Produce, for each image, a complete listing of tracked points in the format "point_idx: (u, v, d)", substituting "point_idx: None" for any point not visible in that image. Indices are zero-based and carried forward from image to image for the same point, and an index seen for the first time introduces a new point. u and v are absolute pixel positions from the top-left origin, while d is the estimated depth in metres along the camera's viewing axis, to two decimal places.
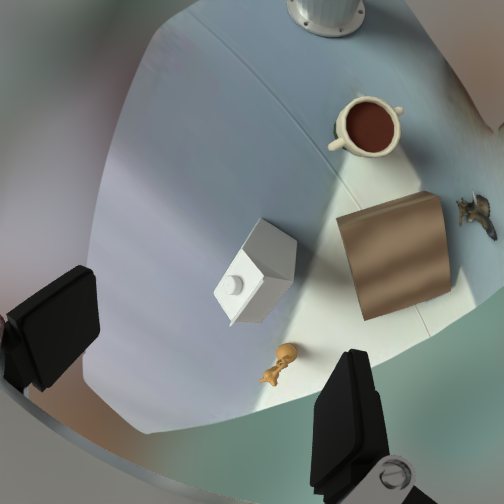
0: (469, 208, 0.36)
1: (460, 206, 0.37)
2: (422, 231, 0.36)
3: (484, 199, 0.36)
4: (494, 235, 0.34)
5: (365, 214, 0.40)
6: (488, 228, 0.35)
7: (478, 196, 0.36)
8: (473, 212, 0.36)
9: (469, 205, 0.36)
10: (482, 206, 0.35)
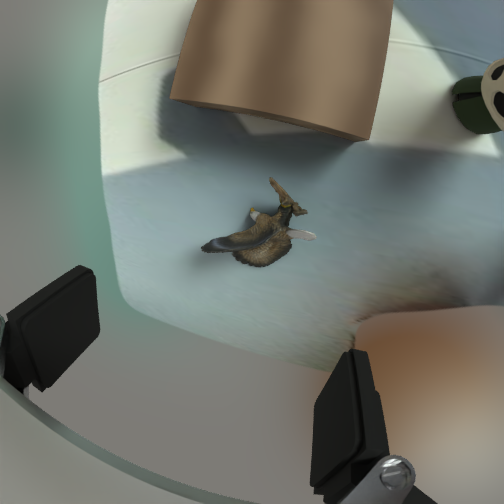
0: (285, 216, 0.25)
1: (293, 202, 0.25)
2: (325, 75, 0.18)
3: (274, 258, 0.28)
4: (214, 248, 0.25)
5: None
6: (230, 241, 0.26)
7: (288, 248, 0.27)
8: (275, 221, 0.25)
9: (285, 221, 0.26)
10: (269, 247, 0.27)
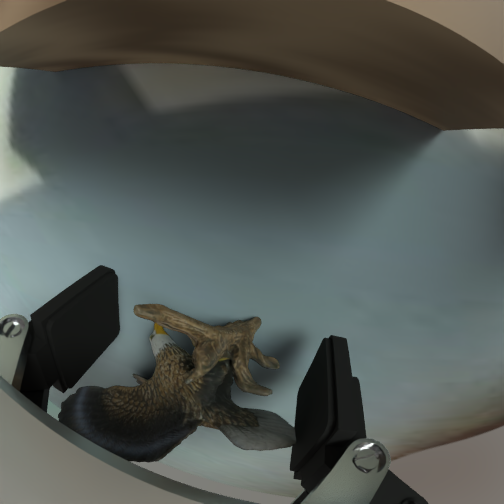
0: (214, 385, 0.08)
1: (240, 339, 0.09)
2: None
3: None
4: (70, 426, 0.08)
5: None
6: (102, 411, 0.09)
7: None
8: (189, 392, 0.08)
9: None
10: None
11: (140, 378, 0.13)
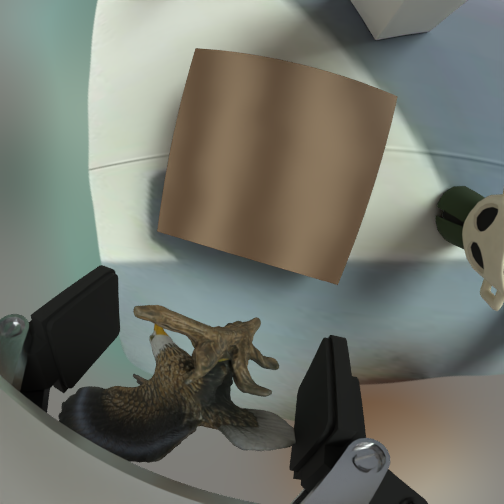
0: (213, 386, 0.08)
1: (240, 339, 0.09)
2: (303, 225, 0.22)
3: None
4: (70, 427, 0.08)
5: None
6: (102, 411, 0.09)
7: None
8: (189, 392, 0.08)
9: None
10: None
11: (140, 378, 0.13)
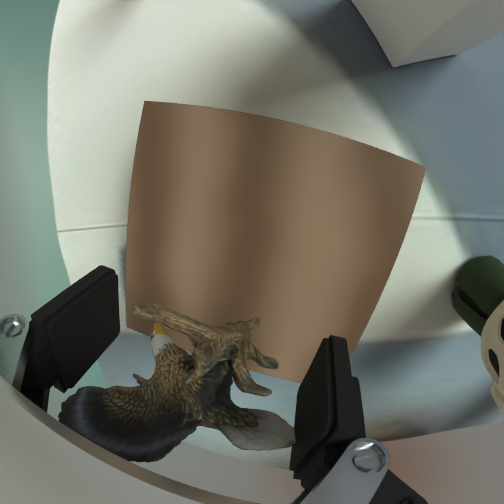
0: (213, 385, 0.08)
1: (239, 339, 0.09)
2: (292, 335, 0.17)
3: None
4: (70, 426, 0.08)
5: None
6: (102, 411, 0.09)
7: None
8: (189, 392, 0.08)
9: None
10: None
11: (140, 378, 0.13)
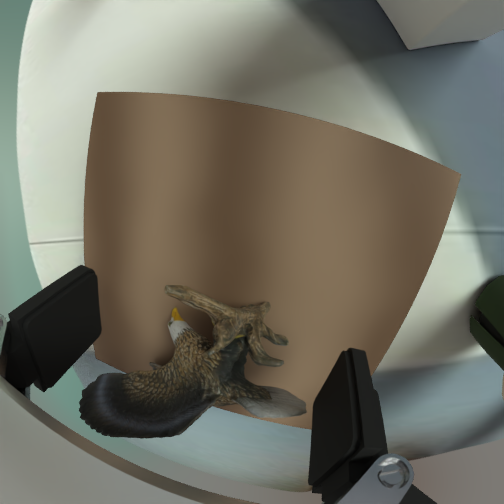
0: (230, 361, 0.09)
1: (253, 319, 0.10)
2: (284, 380, 0.14)
3: None
4: (92, 410, 0.09)
5: None
6: (123, 395, 0.10)
7: None
8: (208, 369, 0.10)
9: None
10: None
11: (157, 365, 0.14)
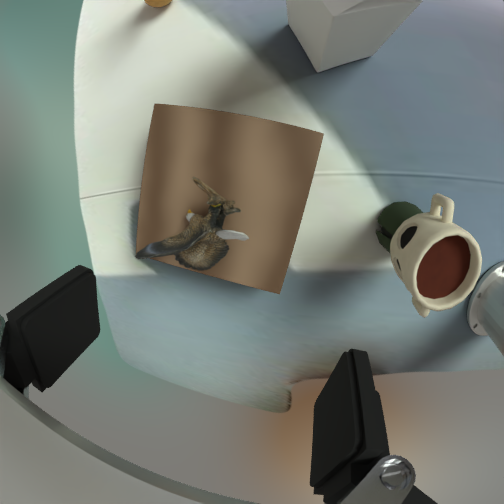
0: (215, 216, 0.23)
1: (225, 200, 0.24)
2: (247, 247, 0.27)
3: (213, 261, 0.27)
4: (145, 254, 0.23)
5: None
6: (162, 246, 0.24)
7: (225, 249, 0.26)
8: (205, 222, 0.23)
9: (218, 221, 0.25)
10: (205, 250, 0.25)
11: None
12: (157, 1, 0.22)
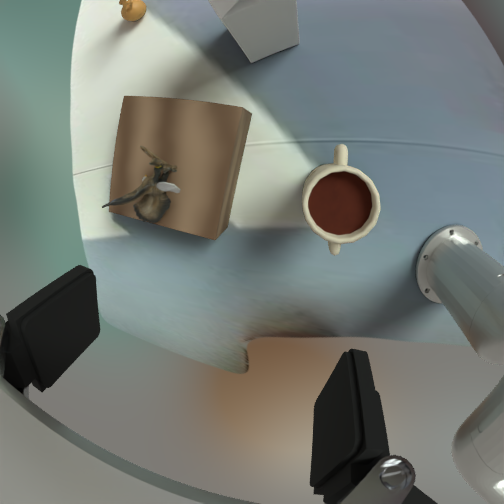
0: (157, 175, 0.29)
1: (166, 164, 0.30)
2: (187, 200, 0.33)
3: (160, 213, 0.33)
4: None
5: (240, 144, 0.33)
6: (121, 199, 0.30)
7: (167, 202, 0.32)
8: (150, 179, 0.30)
9: (162, 180, 0.31)
10: (152, 202, 0.31)
11: (136, 203, 0.34)
12: (131, 17, 0.28)
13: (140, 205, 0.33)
